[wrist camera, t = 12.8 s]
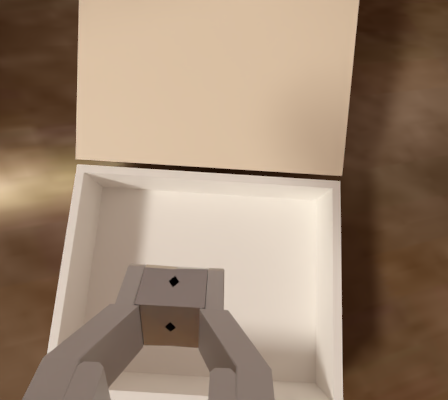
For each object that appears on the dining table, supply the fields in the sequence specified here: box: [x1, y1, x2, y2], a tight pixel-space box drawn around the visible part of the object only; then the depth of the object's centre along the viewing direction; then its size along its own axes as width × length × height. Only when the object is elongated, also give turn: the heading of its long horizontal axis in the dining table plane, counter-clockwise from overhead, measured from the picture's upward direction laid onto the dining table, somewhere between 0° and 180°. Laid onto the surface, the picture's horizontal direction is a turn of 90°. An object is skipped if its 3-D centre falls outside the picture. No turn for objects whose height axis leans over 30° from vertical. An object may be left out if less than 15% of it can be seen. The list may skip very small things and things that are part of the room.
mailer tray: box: [47, 164, 343, 400], centre depth 27 cm, size 16×20×5 cm
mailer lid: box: [76, 0, 359, 176], centre depth 25 cm, size 16×20×1 cm
